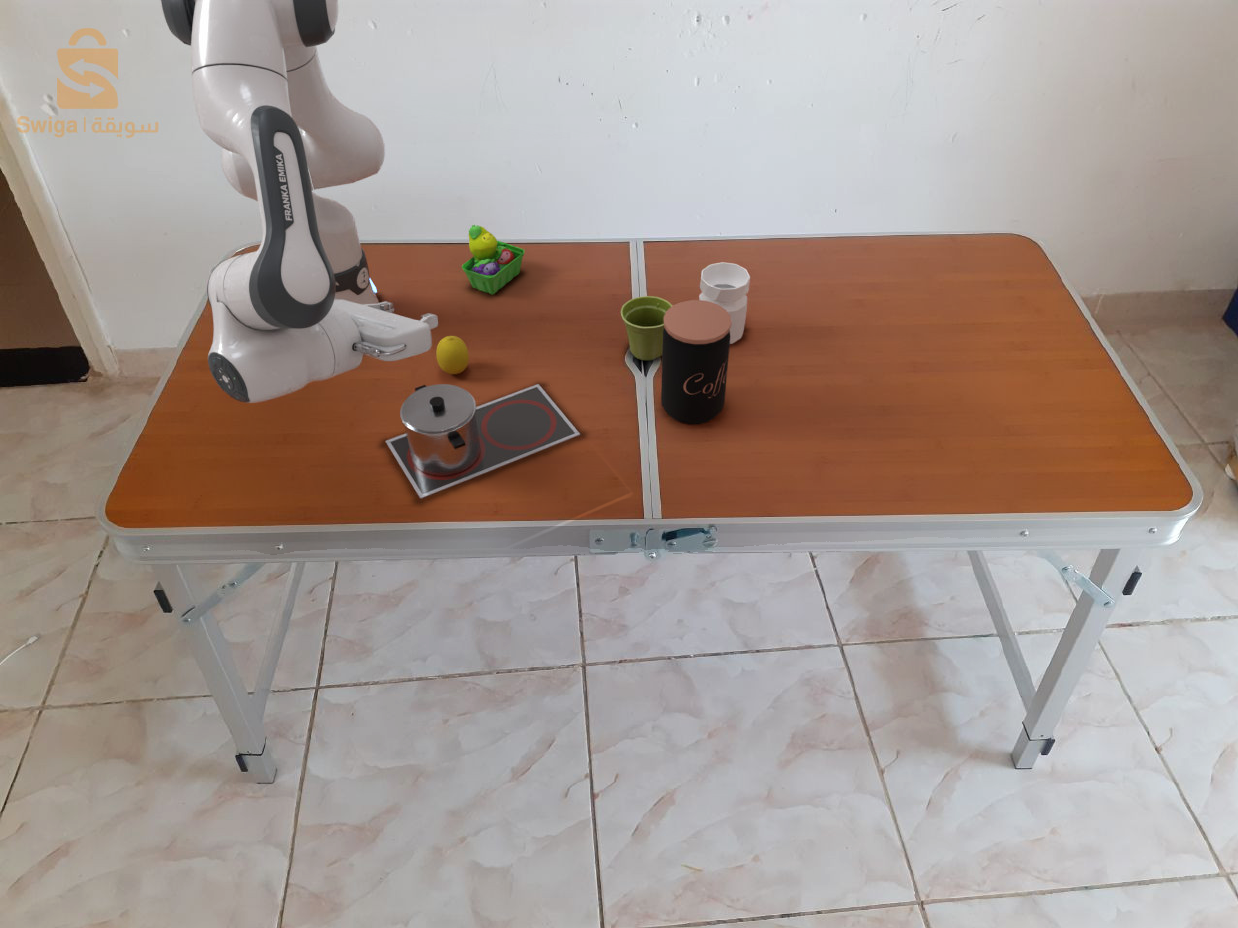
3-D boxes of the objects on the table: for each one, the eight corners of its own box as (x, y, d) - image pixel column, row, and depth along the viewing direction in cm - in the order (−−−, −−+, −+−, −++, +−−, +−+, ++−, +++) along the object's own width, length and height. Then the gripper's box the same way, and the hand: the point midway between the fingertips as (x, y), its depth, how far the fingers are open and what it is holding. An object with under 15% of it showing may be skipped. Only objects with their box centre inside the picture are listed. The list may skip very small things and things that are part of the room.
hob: (420, 500, 147) (420, 498, 146) (385, 443, 156) (385, 440, 156) (580, 436, 157) (580, 434, 156) (538, 386, 166) (538, 383, 166)
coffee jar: (681, 435, 157) (685, 347, 144) (649, 398, 164) (650, 311, 151) (736, 414, 160) (745, 327, 148) (702, 379, 167) (708, 292, 154)
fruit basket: (494, 300, 185) (487, 249, 177) (458, 287, 188) (450, 236, 180) (528, 272, 191) (524, 222, 184) (493, 259, 195) (487, 210, 187)
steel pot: (431, 496, 147) (420, 444, 139) (394, 436, 157) (382, 385, 149) (500, 468, 151) (493, 417, 143) (459, 412, 161) (451, 361, 153)
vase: (690, 339, 175) (693, 283, 167) (705, 313, 181) (709, 258, 173) (736, 350, 173) (741, 294, 164) (750, 323, 179) (756, 268, 170)
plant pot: (668, 370, 169) (670, 330, 163) (616, 363, 170) (615, 324, 164) (676, 338, 175) (678, 299, 169) (626, 332, 177) (626, 293, 171)
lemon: (476, 367, 170) (471, 330, 164) (462, 386, 166) (456, 349, 161) (448, 361, 171) (442, 324, 166) (434, 379, 168) (427, 343, 162)
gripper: (378, 334, 120) (459, 305, 130) (283, 305, 132) (364, 280, 141) (385, 380, 123) (464, 348, 133) (292, 348, 135) (371, 321, 144)
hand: (412, 313), depth 137 cm, fingers open, 8 cm apart
